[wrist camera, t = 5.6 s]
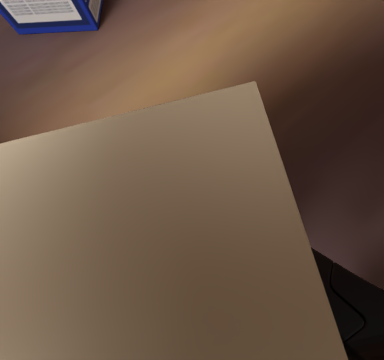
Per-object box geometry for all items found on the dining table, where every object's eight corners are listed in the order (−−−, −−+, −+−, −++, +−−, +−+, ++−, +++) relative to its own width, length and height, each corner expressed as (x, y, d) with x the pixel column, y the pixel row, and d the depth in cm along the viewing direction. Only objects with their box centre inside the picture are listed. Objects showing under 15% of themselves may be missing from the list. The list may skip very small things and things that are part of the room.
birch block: (254, 313, 14) (434, 622, 2) (162, 332, 15) (-169, 713, 2) (230, 221, 16) (255, 80, 4) (148, 239, 16) (-96, 167, 4)
